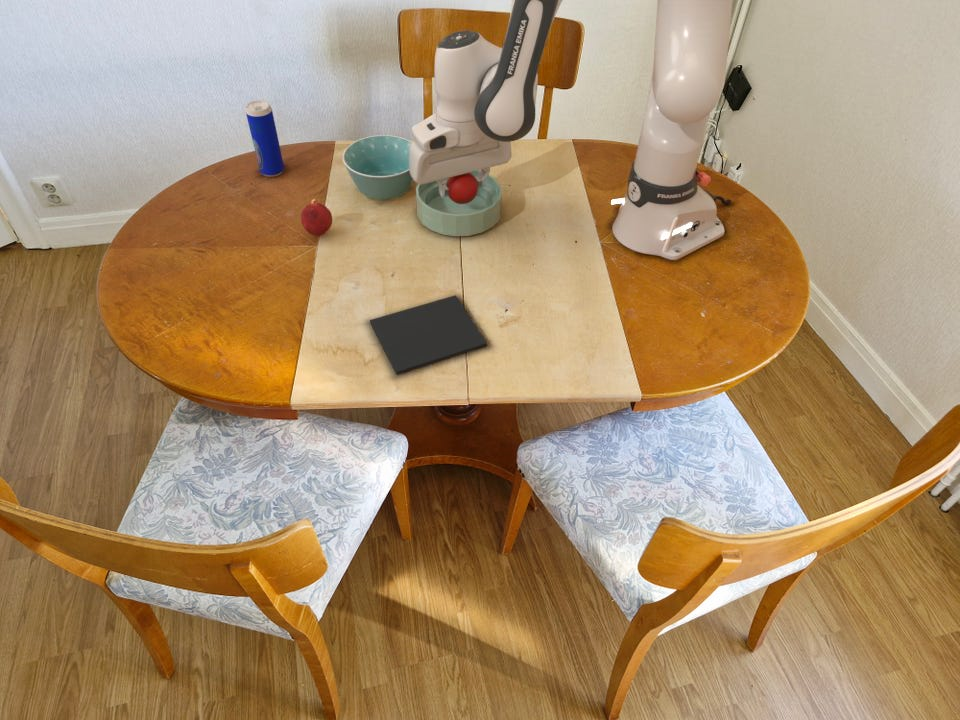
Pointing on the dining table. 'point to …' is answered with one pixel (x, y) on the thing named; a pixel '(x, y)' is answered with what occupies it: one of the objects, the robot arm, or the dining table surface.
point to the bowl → (379, 166)
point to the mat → (427, 334)
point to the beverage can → (265, 138)
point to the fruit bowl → (459, 209)
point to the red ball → (462, 188)
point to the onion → (316, 218)
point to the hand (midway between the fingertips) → (461, 190)
